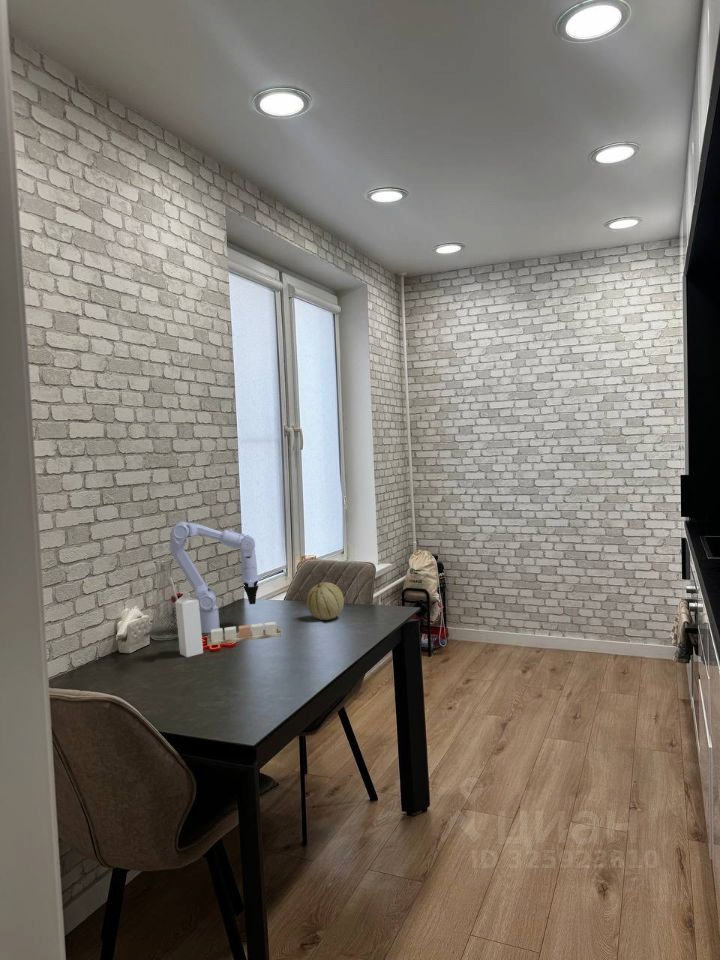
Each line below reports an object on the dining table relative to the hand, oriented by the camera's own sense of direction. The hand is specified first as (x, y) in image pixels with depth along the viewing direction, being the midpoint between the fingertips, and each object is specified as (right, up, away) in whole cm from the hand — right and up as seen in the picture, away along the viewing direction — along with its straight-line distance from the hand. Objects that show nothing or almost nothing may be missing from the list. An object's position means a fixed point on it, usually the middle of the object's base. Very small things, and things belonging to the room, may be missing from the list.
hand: (252, 601), depth 261 cm
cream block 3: (+5, -10, -16) cm, 19 cm away
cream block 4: (+9, -9, -15) cm, 20 cm away
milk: (-16, -13, -31) cm, 37 cm away
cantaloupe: (+29, -8, +4) cm, 30 cm away
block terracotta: (0, -10, -17) cm, 19 cm away
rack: (0, -11, -17) cm, 20 cm away
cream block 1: (-10, -11, -18) cm, 23 cm away
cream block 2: (-5, -10, -17) cm, 21 cm away
